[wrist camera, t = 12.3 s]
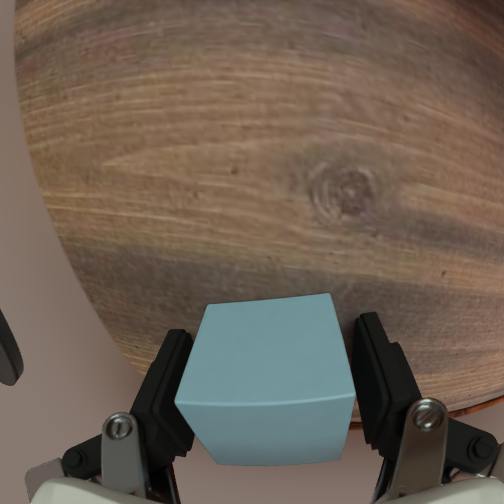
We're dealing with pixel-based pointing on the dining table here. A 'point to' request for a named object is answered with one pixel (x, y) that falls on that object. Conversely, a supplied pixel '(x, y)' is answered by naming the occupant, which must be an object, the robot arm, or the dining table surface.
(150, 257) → the dining table surface
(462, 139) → the dining table surface
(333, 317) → the soap block
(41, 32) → the dining table surface
